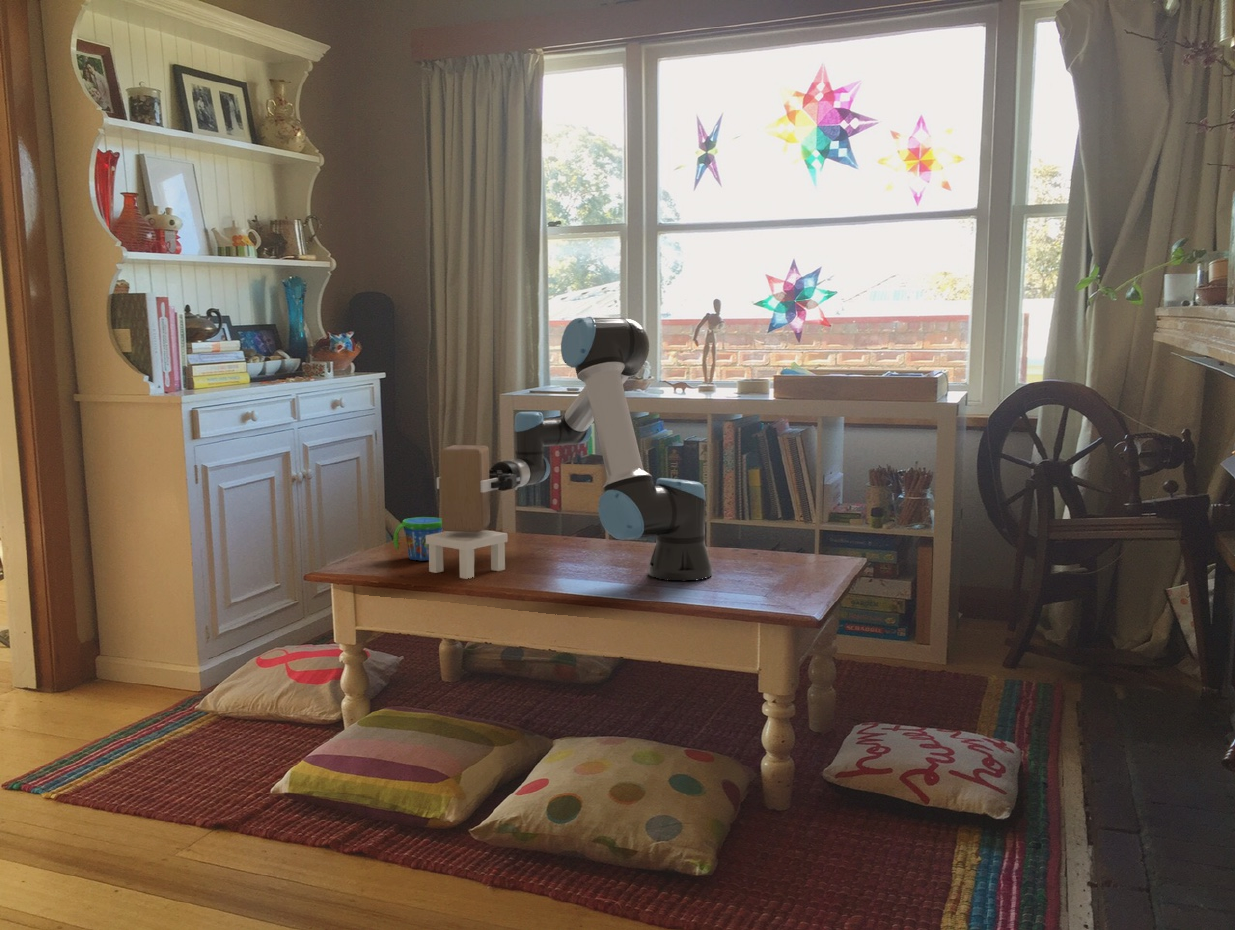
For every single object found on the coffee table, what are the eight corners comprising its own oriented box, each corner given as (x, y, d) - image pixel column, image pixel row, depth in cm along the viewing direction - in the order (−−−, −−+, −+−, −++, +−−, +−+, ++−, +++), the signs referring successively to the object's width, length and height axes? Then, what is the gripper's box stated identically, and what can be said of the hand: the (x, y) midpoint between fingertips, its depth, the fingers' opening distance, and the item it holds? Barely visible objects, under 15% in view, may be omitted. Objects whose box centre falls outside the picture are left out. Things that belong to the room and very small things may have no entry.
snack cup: (447, 552, 273) (446, 514, 272) (459, 559, 264) (458, 520, 262) (388, 557, 266) (387, 519, 265) (399, 565, 257) (398, 525, 256)
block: (491, 525, 254) (489, 445, 252) (481, 532, 244) (480, 449, 242) (451, 524, 255) (450, 444, 253) (440, 531, 245) (439, 448, 243)
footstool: (507, 569, 252) (507, 533, 251) (466, 579, 241) (466, 542, 240) (467, 561, 261) (467, 527, 260) (426, 571, 250) (425, 535, 249)
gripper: (549, 492, 260) (502, 504, 241) (470, 486, 271) (419, 496, 252) (549, 463, 259) (501, 472, 240) (470, 457, 270) (418, 466, 251)
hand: (459, 485), depth 246 cm, fingers closed on block, 12 cm apart
